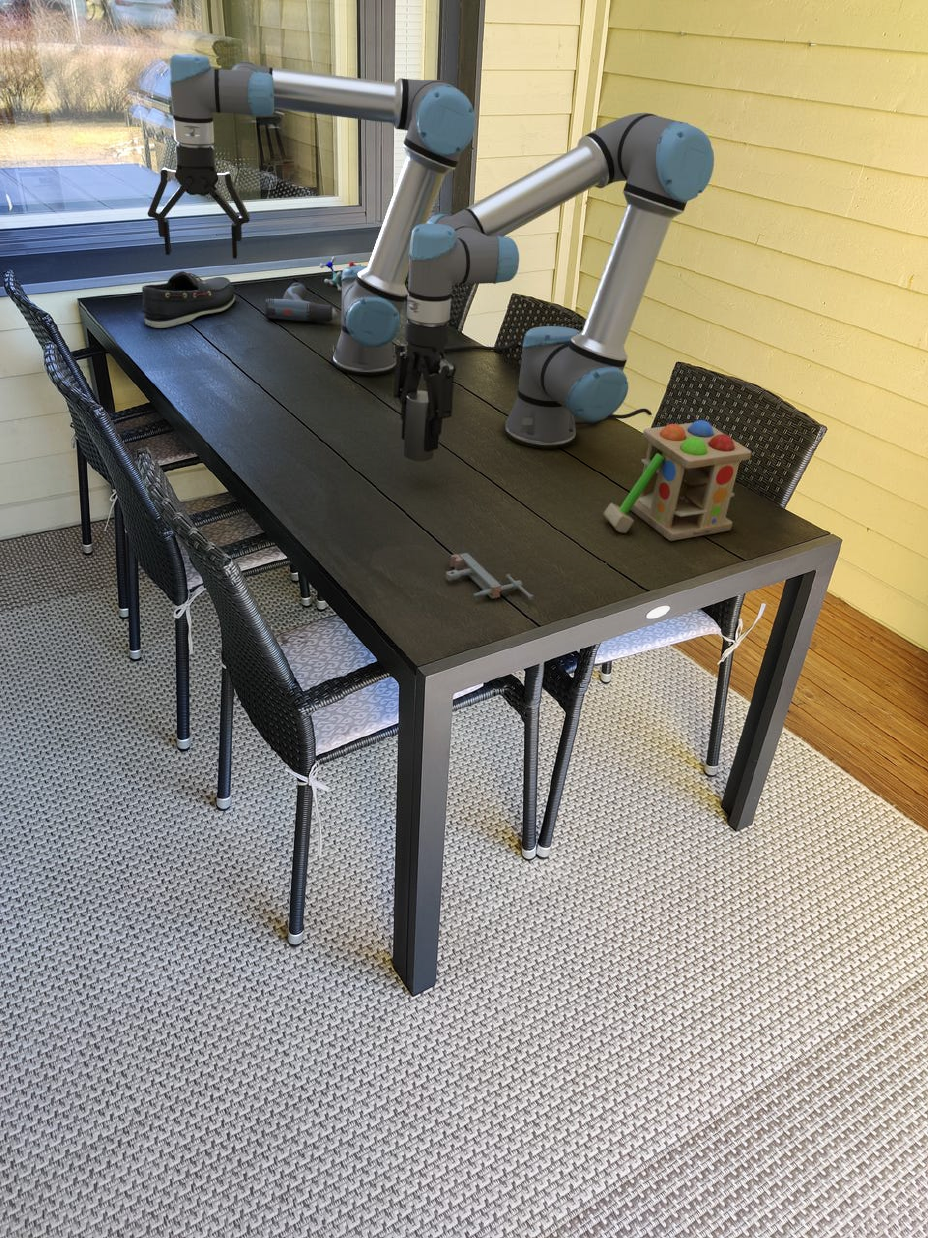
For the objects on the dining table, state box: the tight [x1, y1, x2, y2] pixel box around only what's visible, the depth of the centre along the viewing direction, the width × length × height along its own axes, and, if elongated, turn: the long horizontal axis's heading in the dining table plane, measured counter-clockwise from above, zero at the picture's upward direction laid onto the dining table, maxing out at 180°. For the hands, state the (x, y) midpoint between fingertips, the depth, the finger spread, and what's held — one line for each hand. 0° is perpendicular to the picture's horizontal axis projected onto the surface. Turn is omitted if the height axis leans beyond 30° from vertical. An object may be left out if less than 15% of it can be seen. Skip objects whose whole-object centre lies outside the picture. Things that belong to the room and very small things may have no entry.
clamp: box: [445, 552, 535, 601], centre depth 158 cm, size 15×2×10 cm
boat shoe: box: [141, 270, 236, 329], centre depth 257 cm, size 13×33×10 cm, turn 147°
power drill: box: [264, 282, 338, 322], centre depth 265 cm, size 5×19×20 cm
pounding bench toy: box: [603, 419, 753, 542], centre depth 178 cm, size 23×14×18 cm, turn 116°
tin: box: [403, 390, 438, 462], centre depth 181 cm, size 6×6×12 cm
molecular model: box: [319, 256, 362, 292], centre depth 287 cm, size 12×10×10 cm
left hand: (201, 255), depth 206 cm, fingers open, 13 cm apart
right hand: (419, 443), depth 183 cm, fingers closed on tin, 6 cm apart
